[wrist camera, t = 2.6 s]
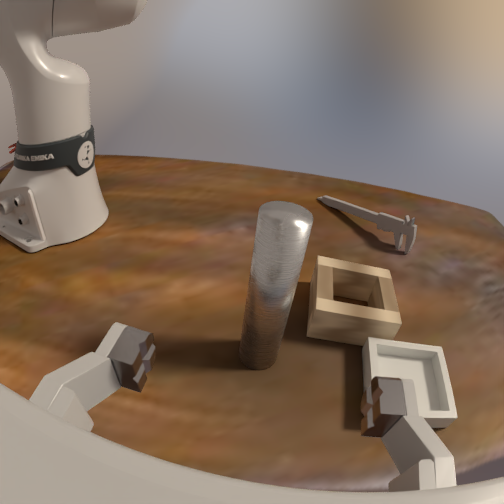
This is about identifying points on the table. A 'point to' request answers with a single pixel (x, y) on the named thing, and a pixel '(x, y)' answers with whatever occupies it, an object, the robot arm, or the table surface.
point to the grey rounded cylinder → (273, 280)
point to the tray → (413, 375)
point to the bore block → (350, 315)
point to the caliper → (379, 221)
